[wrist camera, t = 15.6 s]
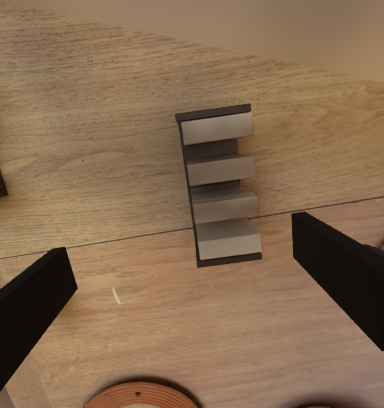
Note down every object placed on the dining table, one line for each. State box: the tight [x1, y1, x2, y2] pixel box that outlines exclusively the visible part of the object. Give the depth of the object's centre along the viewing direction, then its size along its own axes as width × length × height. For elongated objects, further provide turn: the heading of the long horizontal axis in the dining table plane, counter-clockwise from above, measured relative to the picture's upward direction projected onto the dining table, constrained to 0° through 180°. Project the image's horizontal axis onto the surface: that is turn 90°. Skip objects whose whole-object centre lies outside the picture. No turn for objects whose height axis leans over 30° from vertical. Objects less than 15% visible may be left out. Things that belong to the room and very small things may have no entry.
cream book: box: [196, 217, 262, 260], centre depth 32 cm, size 2×7×11 cm, turn 98°
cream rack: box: [175, 103, 262, 268], centre depth 31 cm, size 18×8×12 cm, turn 8°
